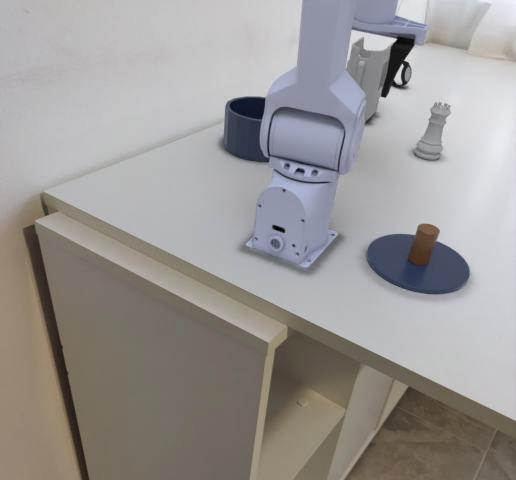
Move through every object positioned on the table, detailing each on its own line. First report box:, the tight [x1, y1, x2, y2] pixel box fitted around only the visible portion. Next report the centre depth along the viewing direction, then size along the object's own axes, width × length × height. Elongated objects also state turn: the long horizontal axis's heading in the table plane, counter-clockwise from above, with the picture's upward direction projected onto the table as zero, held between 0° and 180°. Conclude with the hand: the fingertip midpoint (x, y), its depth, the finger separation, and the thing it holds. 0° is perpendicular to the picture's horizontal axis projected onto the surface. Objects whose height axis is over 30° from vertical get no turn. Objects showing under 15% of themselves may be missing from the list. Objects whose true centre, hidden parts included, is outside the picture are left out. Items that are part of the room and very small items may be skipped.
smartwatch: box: [391, 60, 413, 88], centre depth 115 cm, size 4×5×5 cm
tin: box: [222, 95, 270, 162], centre depth 82 cm, size 11×11×6 cm
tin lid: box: [366, 223, 471, 295], centre depth 60 cm, size 12×12×5 cm
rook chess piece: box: [413, 101, 452, 161], centre depth 85 cm, size 4×4×8 cm
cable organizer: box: [346, 36, 394, 122], centre depth 96 cm, size 7×12×12 cm, turn 157°
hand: (358, 88), depth 76 cm, fingers open, 7 cm apart
